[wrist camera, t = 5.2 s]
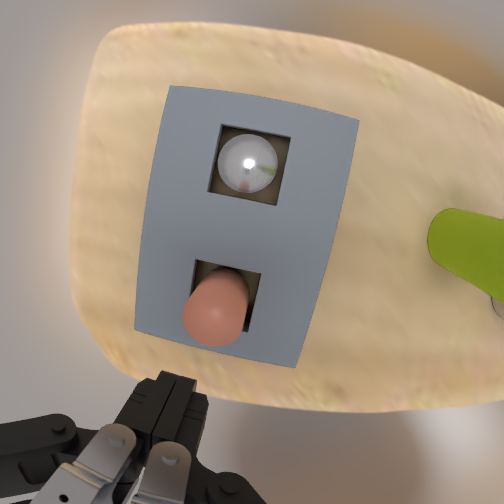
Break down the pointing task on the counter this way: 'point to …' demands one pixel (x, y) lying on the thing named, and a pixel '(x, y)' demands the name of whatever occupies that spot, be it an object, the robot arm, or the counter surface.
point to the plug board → (241, 218)
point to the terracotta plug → (217, 308)
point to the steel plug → (247, 163)
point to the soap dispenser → (470, 248)
